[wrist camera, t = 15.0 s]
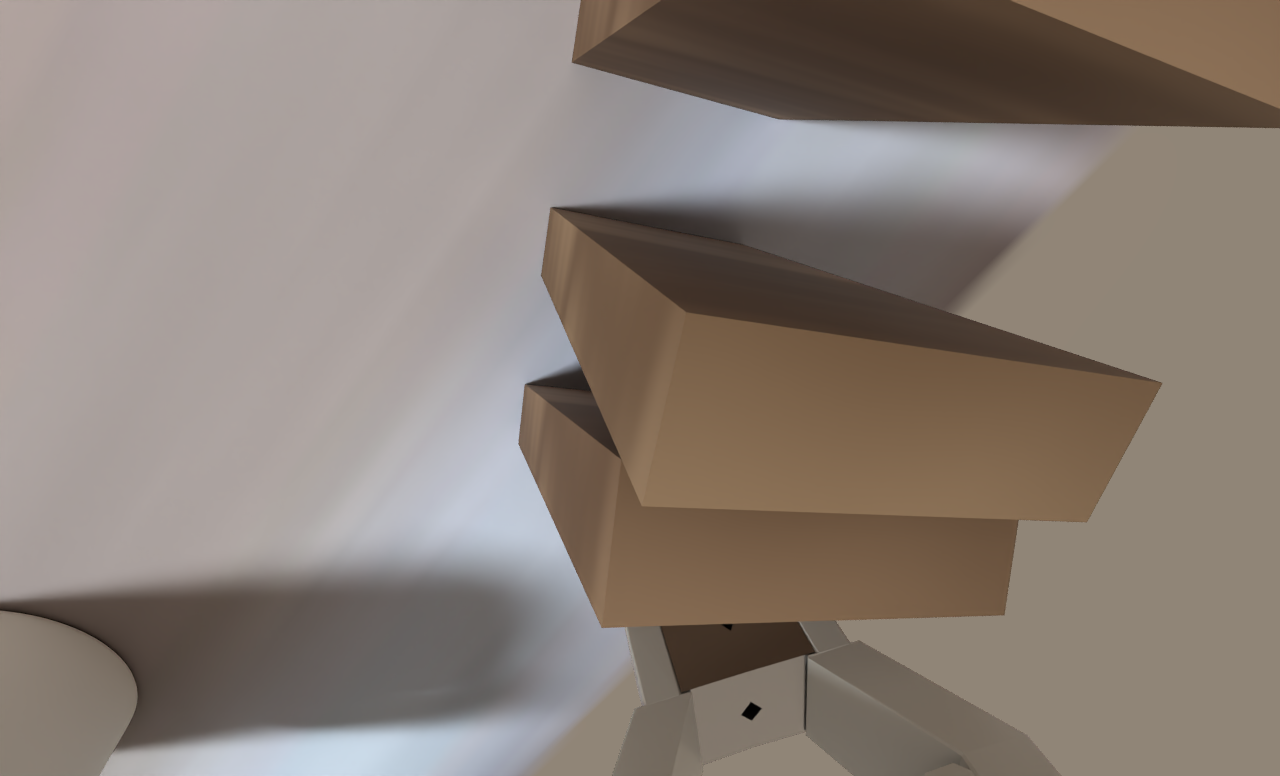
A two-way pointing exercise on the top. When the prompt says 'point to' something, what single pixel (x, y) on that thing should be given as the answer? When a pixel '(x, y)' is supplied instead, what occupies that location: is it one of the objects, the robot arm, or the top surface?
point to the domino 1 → (953, 58)
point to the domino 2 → (824, 386)
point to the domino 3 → (745, 544)
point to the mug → (59, 699)
